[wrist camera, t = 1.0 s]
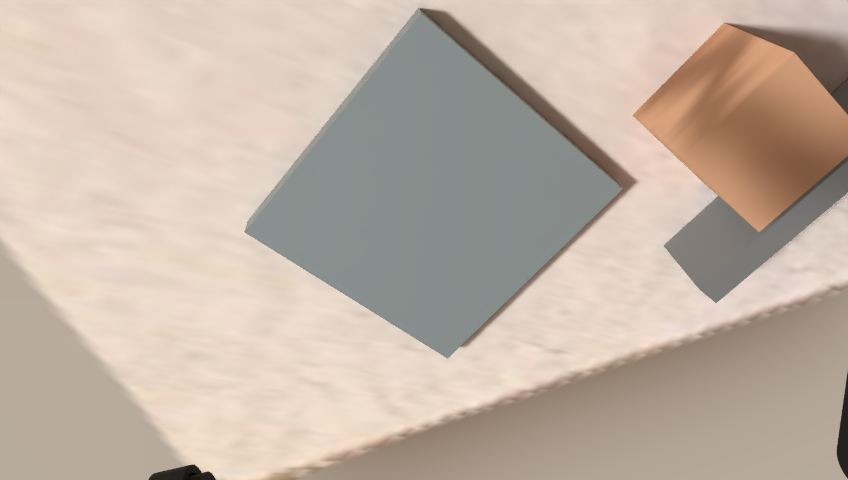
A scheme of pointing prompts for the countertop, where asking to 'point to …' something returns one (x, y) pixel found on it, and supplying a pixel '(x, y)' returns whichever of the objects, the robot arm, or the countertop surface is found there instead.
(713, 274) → the grey long block
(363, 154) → the board
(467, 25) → the countertop surface
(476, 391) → the countertop surface
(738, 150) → the lettered block
